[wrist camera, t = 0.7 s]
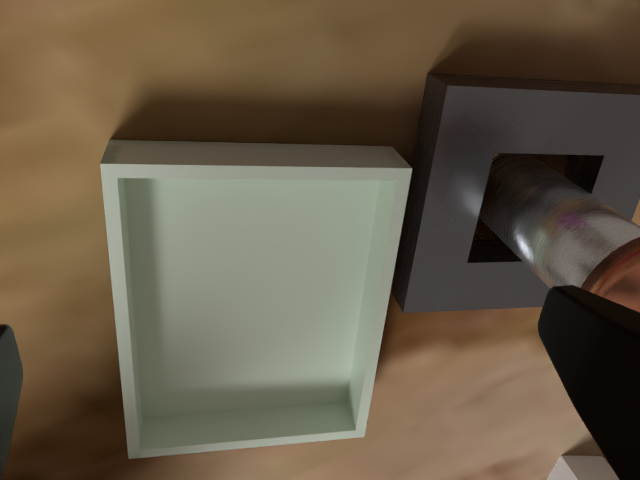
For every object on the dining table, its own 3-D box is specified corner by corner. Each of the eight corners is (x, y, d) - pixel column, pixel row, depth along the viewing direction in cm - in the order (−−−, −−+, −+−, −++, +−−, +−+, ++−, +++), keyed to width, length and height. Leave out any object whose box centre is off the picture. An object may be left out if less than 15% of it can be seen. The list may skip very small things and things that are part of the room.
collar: (574, 281, 29) (598, 304, 27) (389, 288, 27) (403, 312, 25) (644, 85, 24) (679, 97, 22) (427, 73, 22) (447, 85, 20)
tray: (351, 400, 30) (364, 436, 27) (133, 417, 27) (128, 459, 25) (391, 146, 23) (412, 168, 21) (109, 139, 21) (100, 163, 19)
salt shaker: (542, 237, 27) (695, 370, 19) (450, 238, 26) (570, 379, 18) (572, 141, 25) (760, 245, 17) (473, 138, 24) (622, 248, 16)
